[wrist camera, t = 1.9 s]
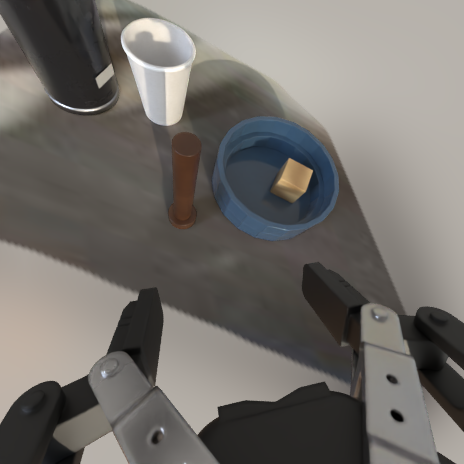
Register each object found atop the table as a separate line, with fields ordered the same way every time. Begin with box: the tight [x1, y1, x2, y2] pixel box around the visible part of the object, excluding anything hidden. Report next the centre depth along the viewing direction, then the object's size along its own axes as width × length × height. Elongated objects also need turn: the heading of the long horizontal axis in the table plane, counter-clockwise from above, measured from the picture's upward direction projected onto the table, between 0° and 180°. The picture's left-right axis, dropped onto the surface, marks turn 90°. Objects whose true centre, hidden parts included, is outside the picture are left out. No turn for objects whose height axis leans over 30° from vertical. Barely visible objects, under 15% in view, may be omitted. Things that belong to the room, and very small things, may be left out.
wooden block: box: [270, 158, 313, 203], centre depth 34 cm, size 4×4×4 cm
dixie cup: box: [121, 18, 196, 126], centre depth 31 cm, size 8×8×10 cm
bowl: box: [212, 116, 339, 241], centre depth 33 cm, size 17×17×6 cm
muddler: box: [168, 132, 201, 229], centre depth 24 cm, size 4×4×15 cm
